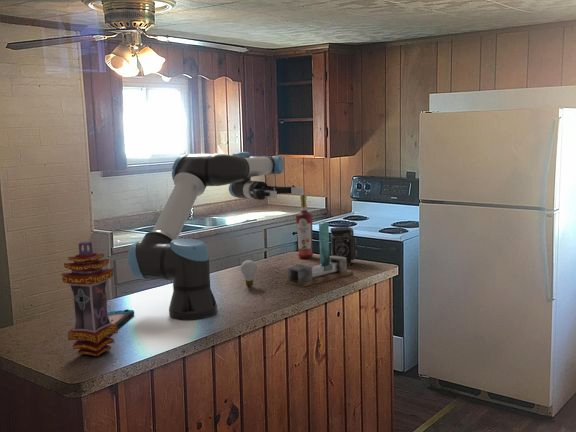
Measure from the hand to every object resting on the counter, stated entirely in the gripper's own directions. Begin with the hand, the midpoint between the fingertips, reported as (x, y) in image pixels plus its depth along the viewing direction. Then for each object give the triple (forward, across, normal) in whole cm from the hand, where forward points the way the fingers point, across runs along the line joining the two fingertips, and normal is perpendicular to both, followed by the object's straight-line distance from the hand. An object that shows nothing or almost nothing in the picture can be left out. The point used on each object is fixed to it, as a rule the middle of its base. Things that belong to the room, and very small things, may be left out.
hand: (289, 193), depth 244 cm
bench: (+14, -2, -32) cm, 35 cm away
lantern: (+29, +94, -32) cm, 103 cm away
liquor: (-19, -24, -32) cm, 45 cm away
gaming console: (+8, +81, -33) cm, 88 cm away
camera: (+3, -26, -32) cm, 41 cm away
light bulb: (+4, +24, -32) cm, 40 cm away
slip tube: (+14, -3, -30) cm, 33 cm away
